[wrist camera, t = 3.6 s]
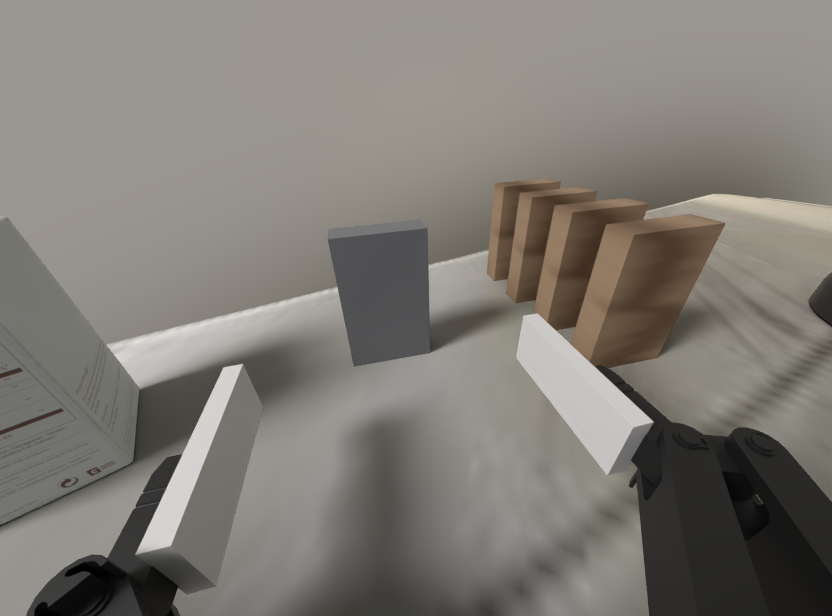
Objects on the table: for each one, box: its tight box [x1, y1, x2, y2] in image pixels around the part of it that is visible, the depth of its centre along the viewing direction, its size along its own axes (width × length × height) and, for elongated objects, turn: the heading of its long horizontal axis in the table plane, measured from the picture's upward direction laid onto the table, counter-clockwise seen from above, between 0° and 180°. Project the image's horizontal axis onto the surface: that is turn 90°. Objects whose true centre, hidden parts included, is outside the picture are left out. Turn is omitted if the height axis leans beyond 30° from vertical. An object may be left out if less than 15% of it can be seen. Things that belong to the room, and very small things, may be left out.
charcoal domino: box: [328, 220, 430, 366], centre depth 21 cm, size 6×2×10 cm, turn 102°
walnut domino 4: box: [571, 214, 725, 368], centre depth 20 cm, size 6×2×10 cm, turn 102°
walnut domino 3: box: [533, 198, 648, 330], centre depth 24 cm, size 6×2×10 cm, turn 102°
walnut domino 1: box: [487, 179, 561, 281], centre depth 32 cm, size 6×2×10 cm, turn 102°
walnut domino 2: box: [506, 187, 597, 303], centre depth 28 cm, size 6×2×10 cm, turn 102°
